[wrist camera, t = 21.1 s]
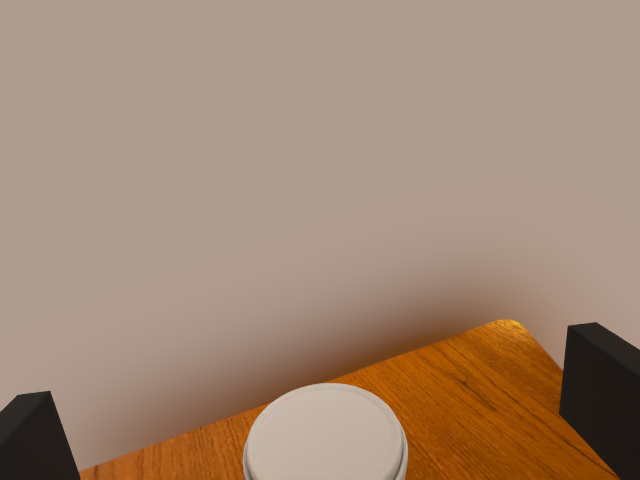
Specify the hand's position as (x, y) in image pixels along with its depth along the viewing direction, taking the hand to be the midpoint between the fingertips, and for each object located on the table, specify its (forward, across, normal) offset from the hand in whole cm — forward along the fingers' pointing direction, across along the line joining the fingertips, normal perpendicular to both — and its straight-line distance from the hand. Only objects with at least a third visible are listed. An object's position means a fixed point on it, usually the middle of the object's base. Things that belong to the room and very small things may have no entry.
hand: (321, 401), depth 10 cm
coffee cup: (+10, 0, -22) cm, 24 cm away
